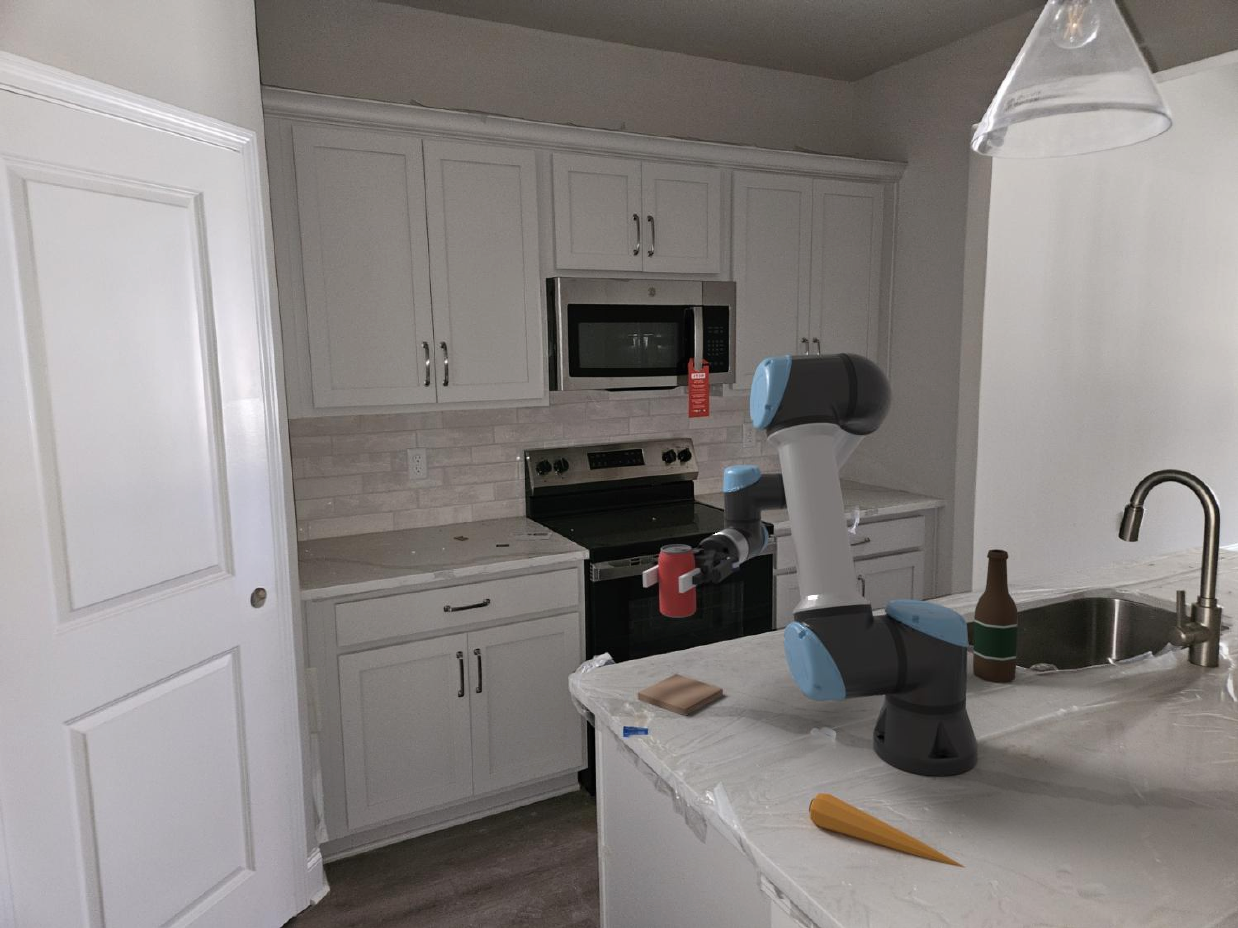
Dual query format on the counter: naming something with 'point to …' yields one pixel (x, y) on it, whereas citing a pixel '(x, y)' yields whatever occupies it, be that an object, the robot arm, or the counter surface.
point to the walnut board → (680, 694)
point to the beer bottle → (995, 625)
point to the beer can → (675, 581)
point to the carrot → (867, 827)
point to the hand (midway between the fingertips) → (662, 582)
